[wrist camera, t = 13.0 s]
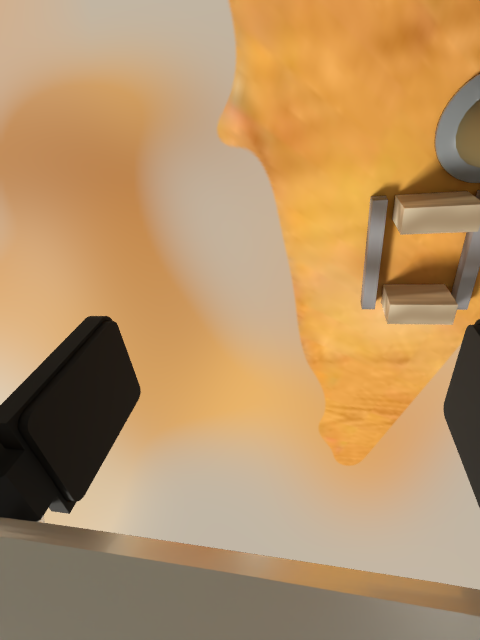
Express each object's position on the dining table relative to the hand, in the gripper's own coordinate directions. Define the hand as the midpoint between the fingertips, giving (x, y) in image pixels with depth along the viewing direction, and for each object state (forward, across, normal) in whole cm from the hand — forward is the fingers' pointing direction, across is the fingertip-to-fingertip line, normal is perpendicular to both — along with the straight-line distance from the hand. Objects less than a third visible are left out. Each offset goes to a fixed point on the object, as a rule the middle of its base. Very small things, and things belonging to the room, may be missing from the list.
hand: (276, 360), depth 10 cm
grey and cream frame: (+30, -12, +10) cm, 34 cm away
